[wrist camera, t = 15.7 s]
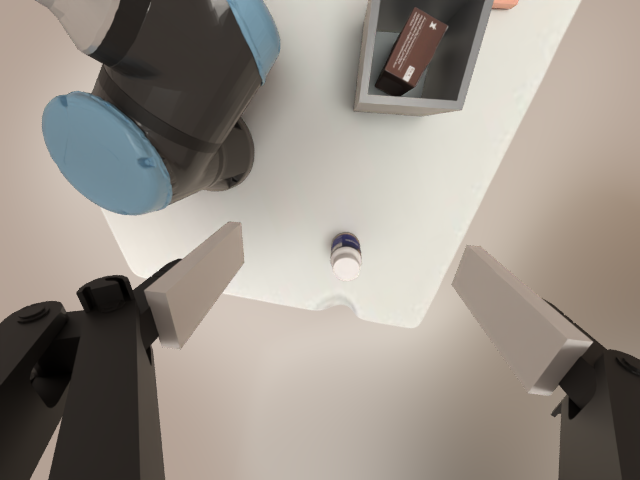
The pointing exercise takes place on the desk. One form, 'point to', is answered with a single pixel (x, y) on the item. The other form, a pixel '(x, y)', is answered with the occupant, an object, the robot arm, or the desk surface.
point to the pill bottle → (346, 256)
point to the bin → (446, 64)
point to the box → (411, 53)
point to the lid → (504, 4)
